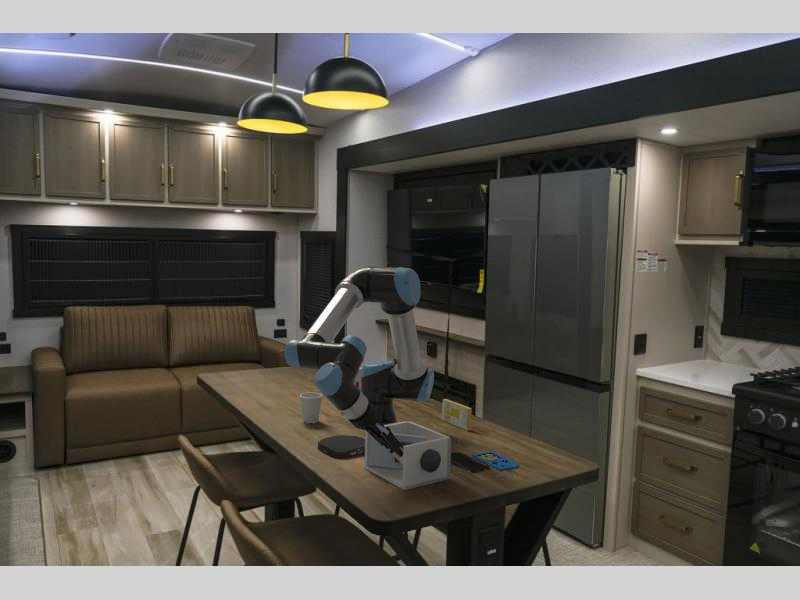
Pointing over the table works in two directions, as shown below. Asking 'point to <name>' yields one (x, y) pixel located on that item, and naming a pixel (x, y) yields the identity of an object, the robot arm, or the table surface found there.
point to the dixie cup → (311, 406)
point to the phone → (467, 462)
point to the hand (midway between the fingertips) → (405, 460)
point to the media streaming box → (342, 446)
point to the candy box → (456, 414)
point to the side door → (384, 457)
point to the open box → (416, 458)
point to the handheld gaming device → (497, 461)
